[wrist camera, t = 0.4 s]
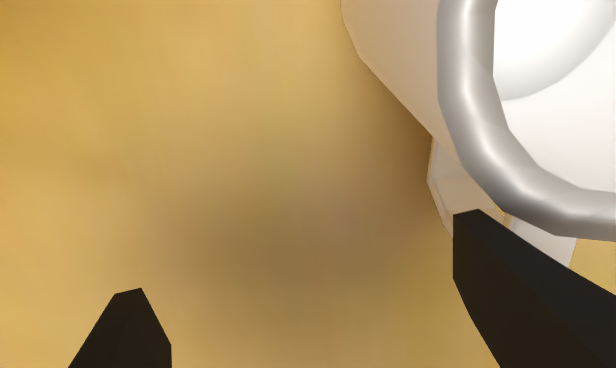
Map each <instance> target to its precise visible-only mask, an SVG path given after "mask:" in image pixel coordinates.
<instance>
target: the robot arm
mask: <svg viewBox="0 0 616 368" xmlns="http://www.w3.org/2000/svg"><path fill="white" fill-rule="evenodd" d="M453 279H454V281H455V284H456V286H457V288H458V291H459V293H460V295H461V298H462V300H463V302H464V304H465V306H466V309H467V311H468V313H469V315H470V317H471V319H472V321H473V322H474V324H475V326H476V327H477V329H478V331H479V333H480V334H481V336H482V338H483V339H484V341H485V343H486V344H487V346H488V348H489V349H490V351H491V353H492V354H493V356H494V358H495V359H496V361H497V363H498V364H499V366H500V368H616V295H614V294H612V293H610V292H609V291H607V290H605V289H603V288H601V287H600V286H598V285H596V284H594V283H593V282H591V281H589V280H587V279H586V278H584V277H582V276H580V275H579V274H577V273H575V272H574V271H572V270H570V269H569V268H567V267H566V266H564V265H562V264H561V263H559V262H558V261H556V260H555V259H553V258H551V257H550V256H548V255H547V254H545V253H544V252H542V251H540V250H539V249H537V248H536V247H534V246H533V245H531V244H530V243H528V242H527V241H525V240H524V239H523V238H521V237H520V236H518V235H517V234H515V233H514V232H512V231H511V230H509V229H508V228H506V227H505V226H504V225H502V224H501V223H499V222H498V221H496V220H495V219H493V218H492V217H491V216H489V215H488V214H486V213H485V212H483V211H482V210H480V209H474V210H470V211H466V212H462V213H457V214H453ZM68 368H172V356H171V344H170V342H169V340H168V338H167V336H166V334H165V332H164V330H163V328H162V326H161V325H160V323H159V321H158V319H157V317H156V315H155V313H154V311H153V309H152V307H151V305H150V303H149V301H148V299H147V298H146V296H145V294H144V292H143V290H142V288H138V289H134V290H129V291H125V292H121V293H117V294H114V296H113V297H112V299H111V300H110V302H109V303H108V305H107V306H106V308H105V310H104V311H103V313H102V314H101V316H100V318H99V319H98V321H97V323H96V324H95V326H94V327H93V329H92V331H91V332H90V334H89V335H88V337H87V339H86V340H85V342H84V343H83V345H82V347H81V348H80V350H79V351H78V353H77V355H76V356H75V358H74V359H73V361H72V362H71V364H70V365H69V367H68Z"/></svg>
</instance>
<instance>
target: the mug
mask: <svg viewBox="0 0 616 368" xmlns="http://www.w3.org/2000/svg"><path fill="white" fill-rule="evenodd" d="M340 4H341V13H342V20H343V22H344V25H345V27H346V29H347V32H348V34H349V36H350V38H351V41H352V43H353V45H354V48H355V50H356V52H357V55H358V56H359V58H360V59H361V60H362V61H363V62H364V63H365V64H366V65H367V66H368V67H369V69H370V70H371V71H372V72H373V73H374V74H375V75H376V76H377V77H378V78H379V79H380V81H381V82H382V83H383V84H384V85H385V86H386V87H387V88H388V89H389V90H390V91H391V92H392V93H393V95H394V96H395V97H396V98H397V99H398V100H399V101H400V102H401V103H402V104H403V105H404V106H405V107H406V108H407V109H408V111H409V112H410V113H411V114H412V115H413V116H414V117H415V118H416V119H417V120H418V121H419V122H420V123H421V124H422V125H423V127H424V128H425V129H426V130H427V131H428V132H429V133H430V134H431V135H432V143H431V150H430V157H429V165H428V172H427V179H426V182H427V184H428V187H429V189H430V192H431V195H432V197H433V200H434V202H435V205H436V207H437V210H438V212H439V215H440V218H441V220H442V223H443V226H444V227H445V229H446V230H447V231H448V233H449V234H450V235H451V237H452V238H453V214H457V213H462V212H466V211H470V210H474V209H480V210H482V211H483V212H485V213H486V214H488V215H489V216H491V217H492V218H493V219H495V220H496V221H498V222H499V223H501V224H502V225H504V226H505V227H506V228H508V229H509V230H511V231H512V232H514V233H515V234H517V235H518V236H520V237H521V238H523V239H524V240H525V241H527V242H528V243H530V244H531V245H533V246H534V247H536V248H537V249H539V250H540V251H542V252H544V253H545V254H547V255H548V256H550V257H551V258H553V259H555V260H556V261H558V262H559V263H561V264H562V265H564V266H566V267H567V268H568V266H569V263H570V260H571V257H572V254H573V250H574V247H575V244H576V241H577V238H582V239H592V240H602V241H612V242H616V0H340ZM491 199H492V200H493V201H494V202H495V203H496V204H497V206H498V207H499V208H500V209H501V210H502V211H504V212H505V216H504V217H503V216H502V215H501V214H500V213H499V212H498V211H497V210H496V208H495V206H494V204H493V202H492V200H491Z"/></svg>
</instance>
